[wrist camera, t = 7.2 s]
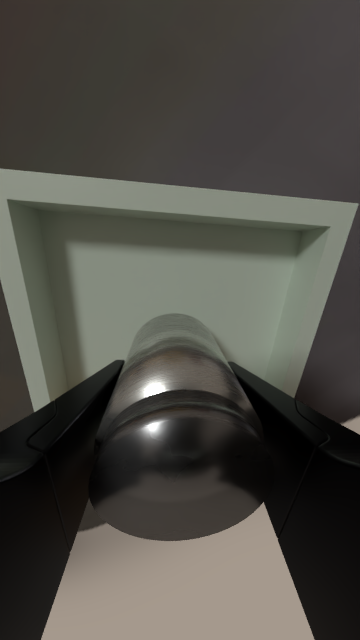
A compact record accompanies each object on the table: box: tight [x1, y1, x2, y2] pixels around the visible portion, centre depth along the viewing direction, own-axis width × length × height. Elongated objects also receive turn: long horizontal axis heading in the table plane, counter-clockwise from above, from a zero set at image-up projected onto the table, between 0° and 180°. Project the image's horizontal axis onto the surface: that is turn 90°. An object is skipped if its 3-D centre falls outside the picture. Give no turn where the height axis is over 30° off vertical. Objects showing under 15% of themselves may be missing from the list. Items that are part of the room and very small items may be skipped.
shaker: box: [88, 313, 274, 541], centre depth 7 cm, size 5×5×6 cm
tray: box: [0, 169, 358, 412], centre depth 11 cm, size 16×16×2 cm
